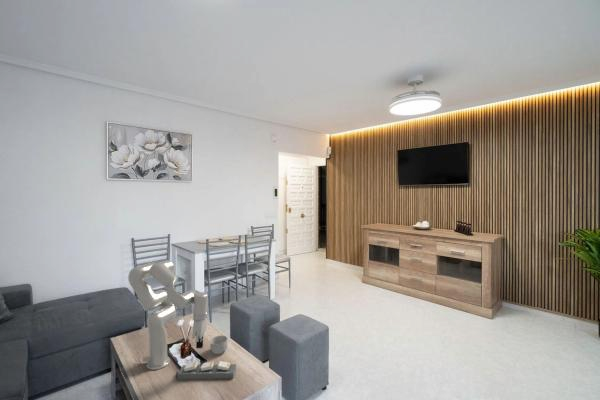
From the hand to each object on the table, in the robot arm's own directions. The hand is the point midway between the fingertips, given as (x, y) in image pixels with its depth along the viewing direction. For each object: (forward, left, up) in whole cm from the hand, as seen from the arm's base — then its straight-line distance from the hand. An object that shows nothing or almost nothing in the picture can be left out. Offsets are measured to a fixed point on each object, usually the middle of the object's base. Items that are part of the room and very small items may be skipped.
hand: (199, 347), depth 159 cm
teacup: (+6, +23, -15) cm, 28 cm away
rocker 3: (+14, -1, -10) cm, 17 cm away
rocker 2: (+5, -1, -10) cm, 11 cm away
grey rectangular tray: (+5, -1, -15) cm, 16 cm away
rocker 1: (-4, -1, -10) cm, 11 cm away
